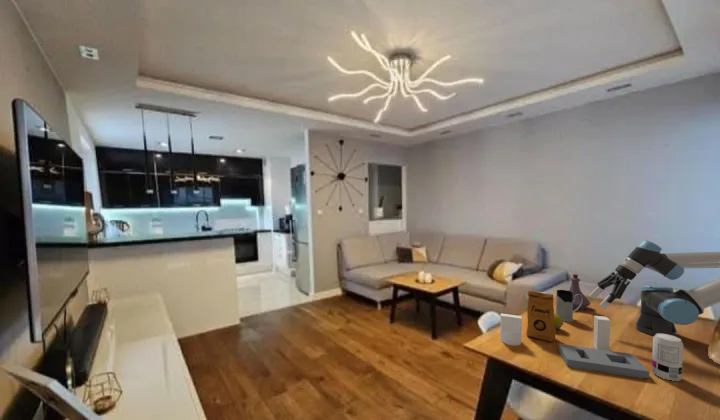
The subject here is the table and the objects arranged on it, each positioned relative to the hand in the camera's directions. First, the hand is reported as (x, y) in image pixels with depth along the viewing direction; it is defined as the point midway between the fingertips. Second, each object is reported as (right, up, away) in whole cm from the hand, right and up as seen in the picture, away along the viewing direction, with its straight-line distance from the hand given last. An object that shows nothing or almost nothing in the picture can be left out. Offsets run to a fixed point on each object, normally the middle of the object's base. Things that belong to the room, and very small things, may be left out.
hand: (596, 302), depth 155 cm
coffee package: (-29, -16, -3) cm, 33 cm away
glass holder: (0, -15, +21) cm, 26 cm away
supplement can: (0, -18, -36) cm, 40 cm away
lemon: (-18, -16, +8) cm, 25 cm away
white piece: (-45, -17, -6) cm, 49 cm away
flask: (+15, -14, +38) cm, 44 cm away
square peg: (-9, -17, -14) cm, 24 cm away
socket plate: (-19, -17, -27) cm, 37 cm away
